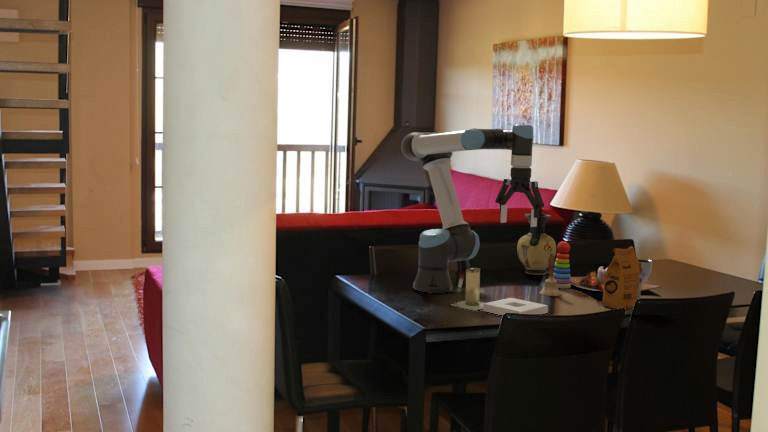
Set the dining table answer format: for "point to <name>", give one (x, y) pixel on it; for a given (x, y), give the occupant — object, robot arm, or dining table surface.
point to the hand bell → (550, 280)
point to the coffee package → (622, 279)
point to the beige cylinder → (472, 286)
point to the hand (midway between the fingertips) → (518, 224)
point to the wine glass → (644, 272)
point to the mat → (471, 306)
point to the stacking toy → (562, 266)
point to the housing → (514, 307)
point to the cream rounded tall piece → (536, 246)
